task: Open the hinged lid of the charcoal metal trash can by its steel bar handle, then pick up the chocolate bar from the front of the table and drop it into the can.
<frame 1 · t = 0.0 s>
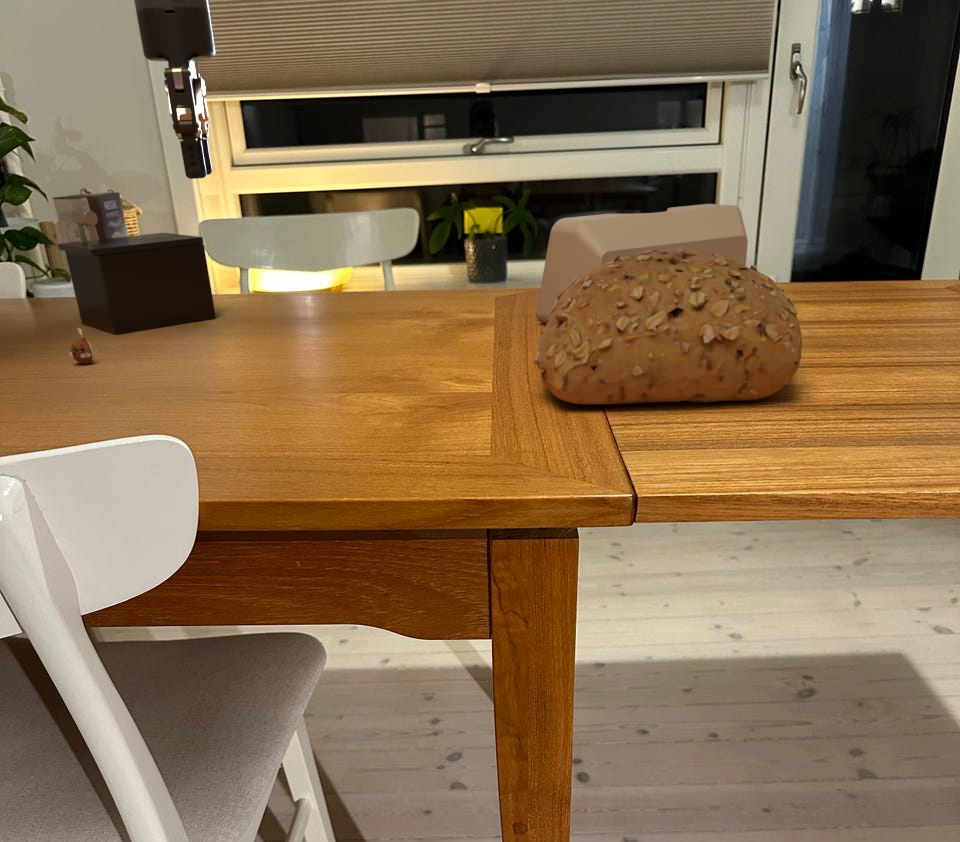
hand: (200, 176, 109), 19 cm above the table, tool pointing down, fingers open, 8 cm apart
bread: (657, 385, 92), on the table
coffee box: (112, 312, 145), on the table
trash can: (148, 321, 135), on the table
lid: (127, 226, 129), point 12 cm above the table, hinge at 0.0°
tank: (651, 322, 120), on the table
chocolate: (83, 365, 111), on the table
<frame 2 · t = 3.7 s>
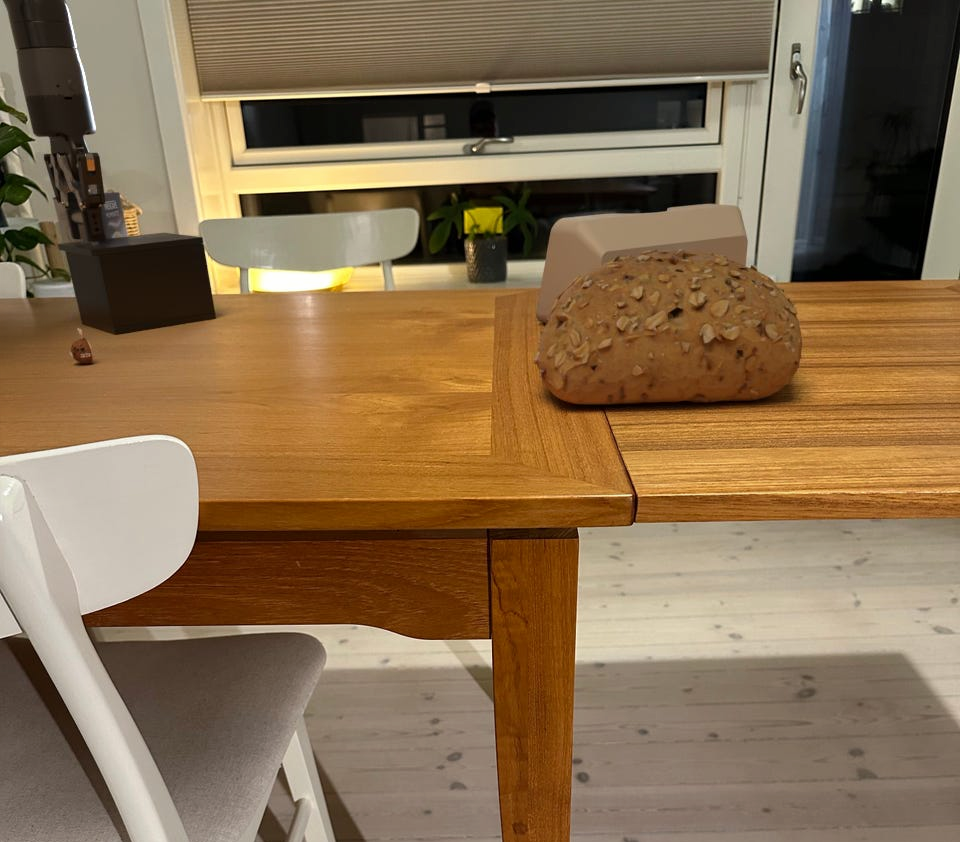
hand: (88, 239, 126), 11 cm above the table, tool pointing down, fingers closed on lid, 5 cm apart
lid: (127, 226, 129), point 12 cm above the table, hinge at 0.0°, touching gripper
everything else where it was.
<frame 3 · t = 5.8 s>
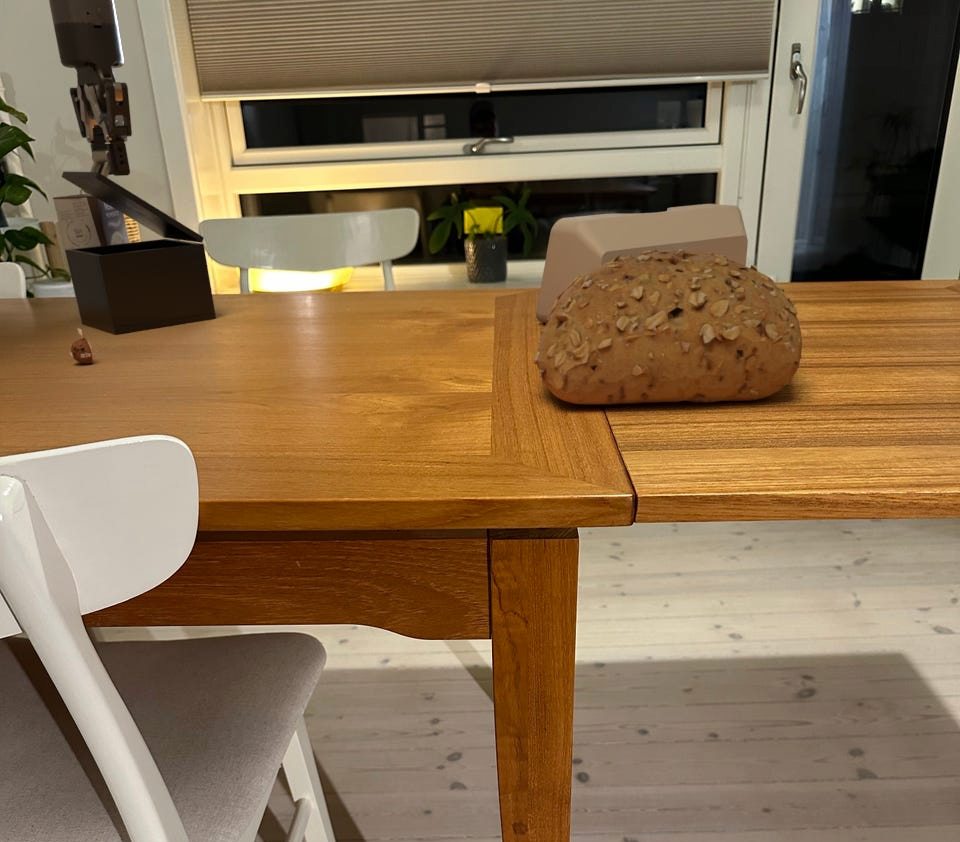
hand: (113, 174, 126), 19 cm above the table, tool pointing down, fingers closed on lid, 5 cm apart
lid: (139, 192, 128), point 16 cm above the table, hinge at 34.9°, touching gripper
everything else where it was.
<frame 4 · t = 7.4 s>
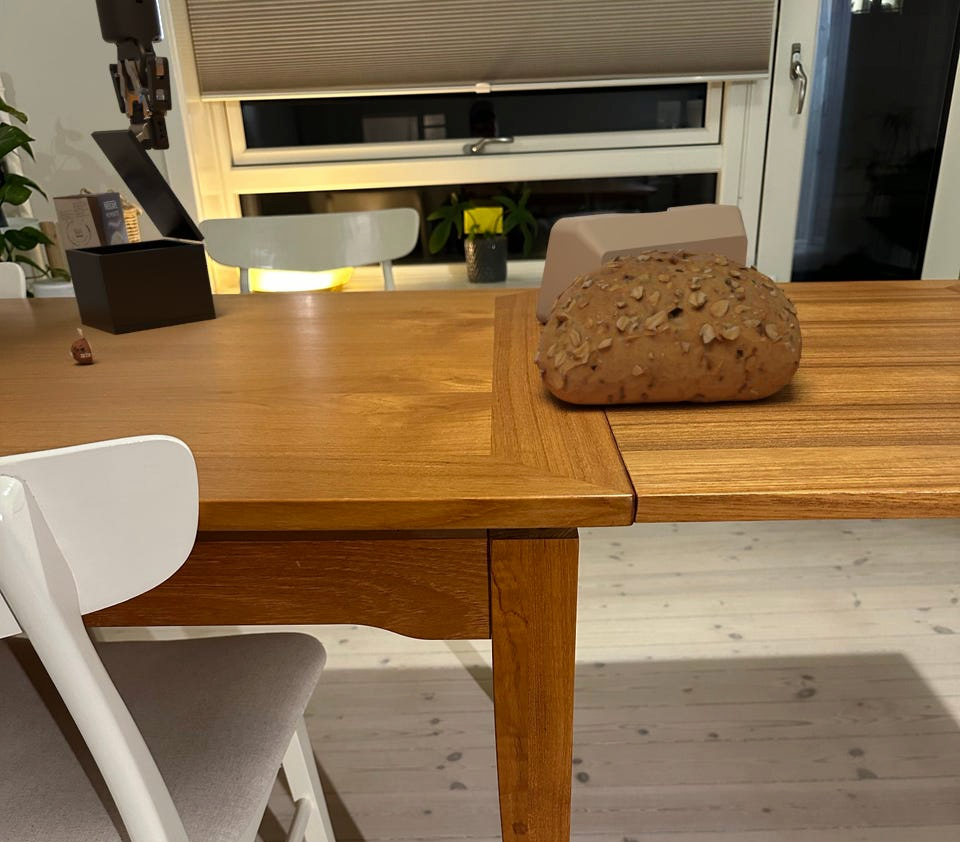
hand: (152, 149, 128), 21 cm above the table, tool pointing down, fingers closed on lid, 5 cm apart
lid: (159, 177, 129), point 18 cm above the table, hinge at 61.0°, touching gripper
everything else where it was.
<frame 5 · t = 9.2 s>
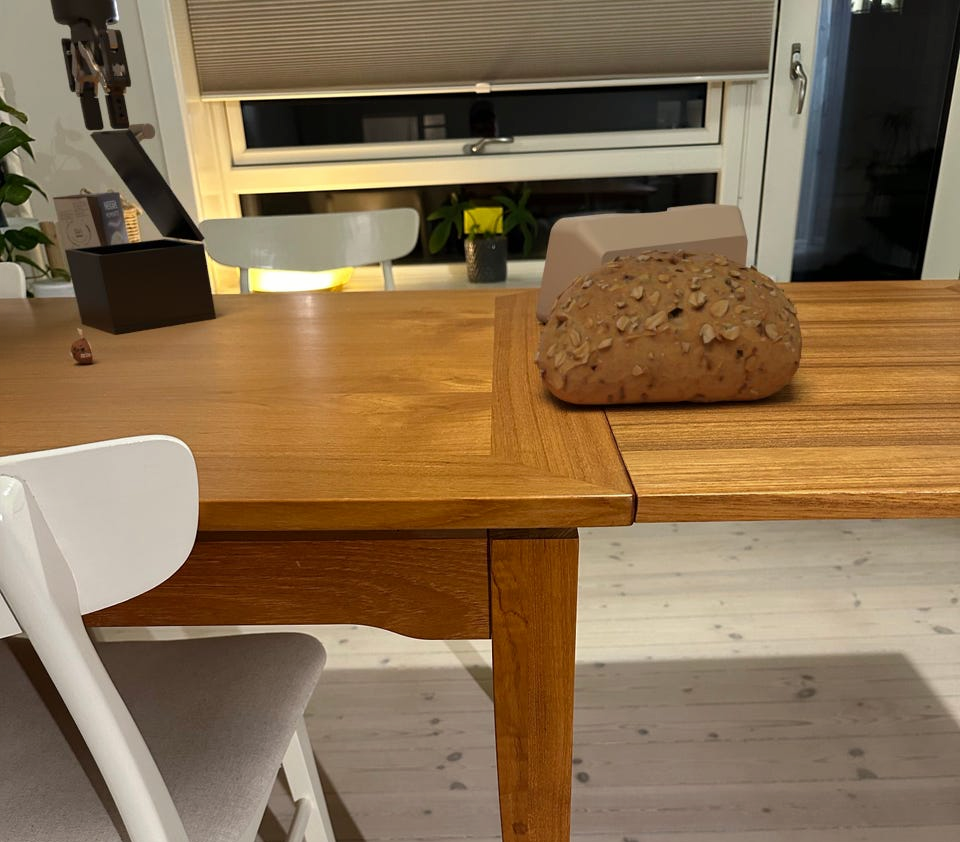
hand: (107, 129, 122), 24 cm above the table, tool pointing down, fingers open, 8 cm apart
lid: (159, 177, 129), point 18 cm above the table, hinge at 60.6°
everything else where it was.
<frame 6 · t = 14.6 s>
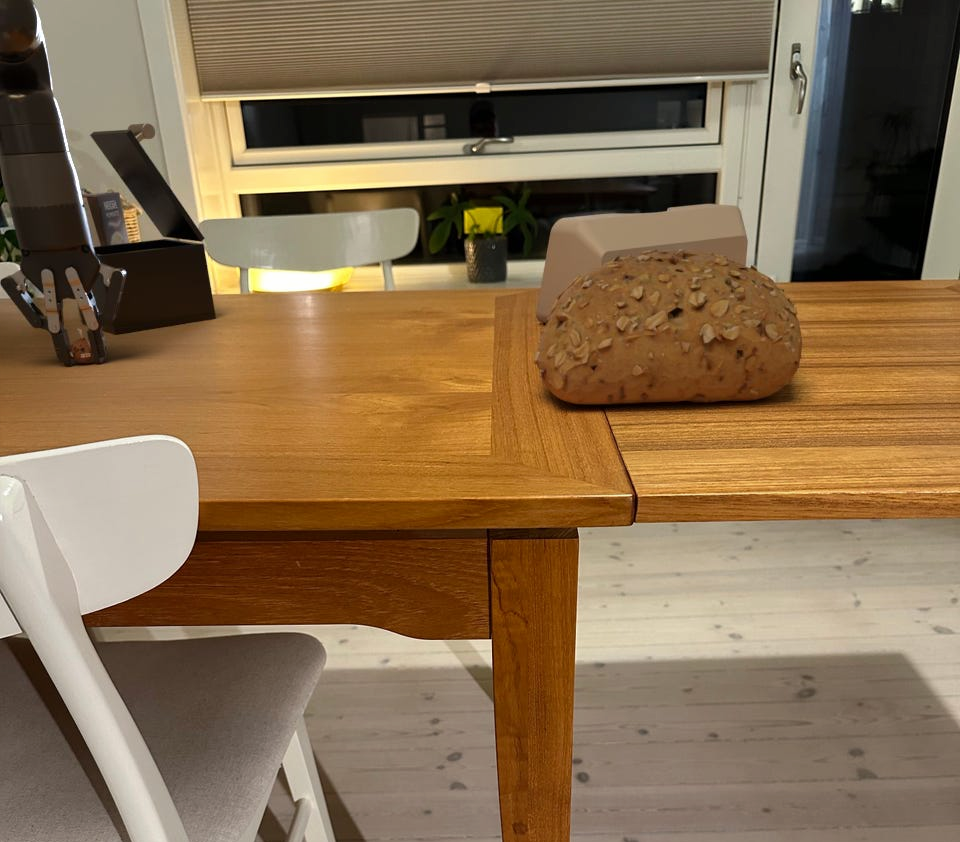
hand: (84, 362, 111), 0 cm above the table, tool pointing down, fingers closed on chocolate, 2 cm apart
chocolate: (83, 365, 111), on the table, touching gripper
everything else where it was.
when the fingers open (11 cm above the table, at t = 23.4 s): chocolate drops 9 cm, resting on trash can.
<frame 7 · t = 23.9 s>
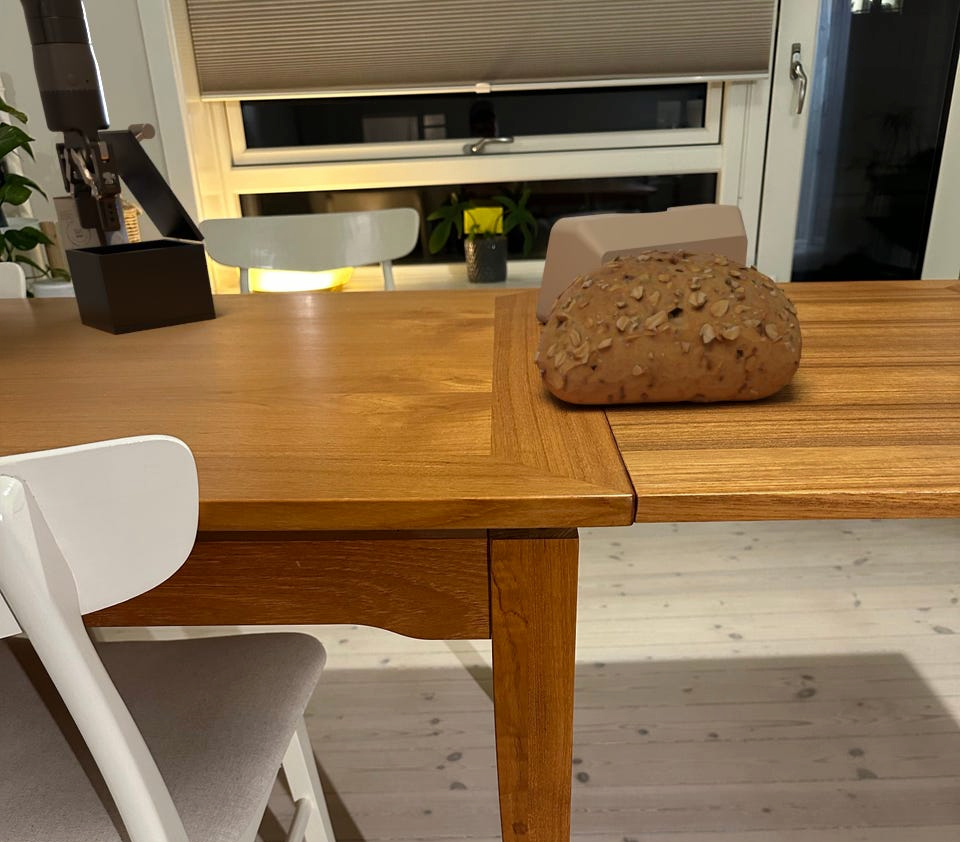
hand: (100, 229, 127), 12 cm above the table, tool pointing down, fingers open, 7 cm apart
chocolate: (111, 312, 133), point 2 cm above the table, touching trash can
everything else where it was.
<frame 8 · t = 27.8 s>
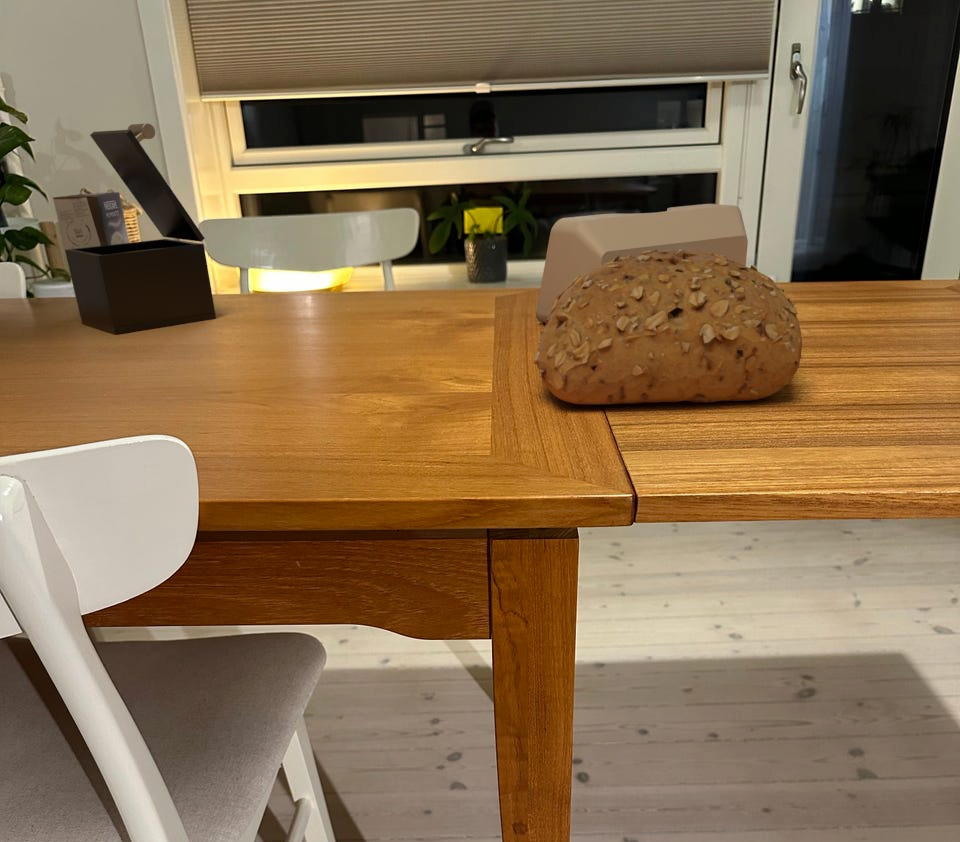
nothing on the table moved.
at the end: lid at +61° (first picture: +0°); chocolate inside the target area in the trash can (4.2 cm from its centre), point 1.7 cm above the trash can's base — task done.
